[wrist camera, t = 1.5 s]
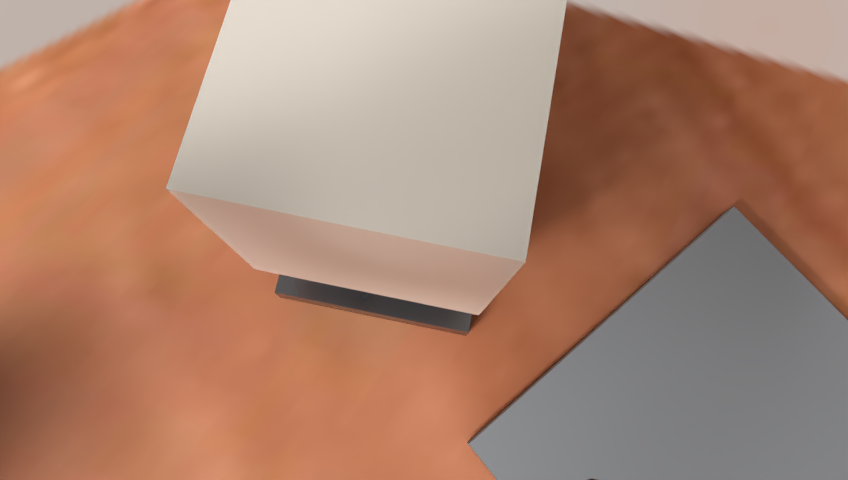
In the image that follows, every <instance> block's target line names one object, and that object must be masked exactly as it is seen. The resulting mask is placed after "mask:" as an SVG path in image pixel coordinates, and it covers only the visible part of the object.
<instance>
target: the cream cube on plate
mask: <svg viewBox="0 0 848 480" xmlns="http://www.w3.org/2000/svg"><path fill="white" fill-rule="evenodd" d="M566 3H567V0H231V1H230V4H229V7H228V10H227V13H226V16H225V19H224V21H223V24H222V27H221V30H220V33H219V36H218V39H217V42H216V45H215V48H214V50H213V53H212V56H211V59H210V62H209V65H208V68H207V71H206V74H205V77H204V79H203V82H202V85H201V88H200V91H199V94H198V97H197V100H196V103H195V106H194V108H193V111H192V114H191V117H190V120H189V123H188V126H187V129H186V132H185V135H184V137H183V140H182V143H181V146H180V149H179V152H178V155H177V158H176V161H175V164H174V166H173V169H172V172H171V175H170V178H169V181H168V184H167V187H166V189H167V190H168V191H169V192H170V193H171V194H172V195H173V196H174V197H175V198H177V199H178V200H179V201H180V202H181V203H182V204H183V205H184V206H185V207H186V208H188V209H189V210H190V211H191V212H192V213H193V214H194V215H195V216H196V217H198V218H199V219H200V220H201V221H202V222H203V223H204V224H205V225H206V226H208V227H209V228H210V229H211V230H212V231H213V232H214V233H215V234H216V235H217V236H219V237H220V238H221V239H222V240H223V241H224V242H225V243H226V244H227V245H229V246H230V247H231V248H232V249H233V250H234V251H235V252H236V253H237V254H239V255H240V256H241V257H242V258H243V259H244V260H245V261H246V262H247V263H248V264H250V265H251V266H252V267H253V268H254V269H256V270H261V271H266V272H271V273H275V274H280V275H285V276H290V277H295V278H300V279H305V280H309V281H314V282H319V283H324V284H329V285H334V286H339V287H343V288H348V289H353V290H358V291H363V292H368V293H373V294H377V295H382V296H387V297H392V298H397V299H402V300H406V301H411V302H416V303H421V304H426V305H431V306H436V307H440V308H445V309H450V310H455V311H460V312H465V313H470V314H474V315H480V313H481V312H482V311H483V310H484V309H485V308H486V307H487V305H488V304H489V303H490V302H491V301H492V300H493V299H494V298H495V296H496V295H497V294H498V293H499V292H500V291H501V290H502V288H503V287H504V286H505V285H506V284H507V283H508V282H509V281H510V279H511V278H512V277H513V276H514V275H515V274H516V273H517V271H518V270H519V269H520V268H521V267H522V266H523V265H524V264H525V262H526V257H527V251H528V244H529V238H530V232H531V225H532V219H533V213H534V206H535V200H536V194H537V187H538V181H539V175H540V168H541V162H542V156H543V149H544V143H545V137H546V130H547V124H548V118H549V111H550V105H551V98H552V92H553V86H554V79H555V73H556V67H557V60H558V54H559V48H560V41H561V35H562V29H563V22H564V16H565V10H566Z"/></svg>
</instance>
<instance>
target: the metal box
mask: <svg viewBox="0 0 848 480" xmlns="http://www.w3.org/2000/svg"><path fill="white" fill-rule="evenodd" d="M275 293H276V294H277V295H278V296H279V297H282V298H286V299H291V300H296V301H301V302H306V303H311V304H315V305H320V306H325V307H330V308H335V309H340V310H345V311H349V312H354V313H359V314H364V315H369V316H374V317H378V318H383V319H388V320H393V321H398V322H403V323H407V324H412V325H417V326H422V327H427V328H432V329H436V330H441V331H446V332H451V333H456V334H461V335H465V336H466V335H467V334H468V333H469V328H470V323H471V317H472V314H470V313H465V312H460V311H455V310H450V309H445V308H440V307H436V306H431V305H426V304H421V303H416V302H411V301H406V300H402V299H397V298H392V297H387V296H382V295H377V294H373V293H368V292H363V291H358V290H353V289H348V288H343V287H339V286H334V285H329V284H324V283H319V282H314V281H309V280H305V279H300V278H295V277H290V276H285V275H279V279H278V283H277V286H276V290H275Z"/></svg>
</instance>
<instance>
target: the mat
mask: <svg viewBox="0 0 848 480" xmlns="http://www.w3.org/2000/svg"><path fill="white" fill-rule="evenodd" d="M467 443H468V444H469V446H470V447H471V448H472V449H473V451H474V452H475V453H476V454H477V456H478V457H479V458H480V459H481V461H482V462H483V463H484V464H485V466H486V467H487V468H488V469H489V471H490V472H491V473H492V474H493V476H494V477H495V478H496V479H497V480H588V479H592V478H593V479H597V480H848V320H847V319H846V318H845V317H844V316H843V315H842V314H841V313H840V312H839V311H838V310H837V309H836V308H835V307H834V306H833V305H832V304H831V303H830V302H829V301H828V300H827V299H826V298H825V297H824V296H823V295H822V294H821V293H820V292H819V291H818V290H817V289H816V288H815V287H814V286H813V285H812V284H811V283H810V282H809V281H808V280H807V279H806V278H805V277H804V276H803V275H802V274H801V273H800V272H799V271H798V270H797V269H796V268H795V267H794V266H793V265H792V264H791V263H790V262H789V261H788V260H787V259H786V258H785V257H784V256H783V255H782V254H781V253H780V252H779V251H778V250H777V249H776V248H775V247H774V246H773V245H772V244H771V243H770V242H769V241H768V240H767V239H766V238H765V237H764V236H763V235H762V234H761V233H760V232H759V231H758V230H757V229H756V228H755V227H754V226H753V225H752V224H751V223H750V222H749V221H748V220H747V219H746V218H745V217H744V216H743V215H742V214H741V213H740V212H739V211H738V210H737V209H736V208H735V207H732V208H730V209H729V210H727V211H726V212H724V213H723V214H722V215H721V216H720V217H719V218H718V219H717V220H716V221H714V222H713V223H712V224H711V225H710V226H709V227H708V228H707V229H705V230H704V231H703V232H702V233H701V234H700V235H699V236H698V237H697V238H695V239H694V240H693V241H692V242H691V243H690V244H689V245H688V246H686V247H685V248H684V249H683V250H682V251H681V252H680V253H679V254H677V255H676V256H675V257H674V258H673V259H672V260H671V261H670V262H669V263H667V264H666V265H665V266H664V267H663V268H662V269H661V270H660V271H658V272H657V273H656V274H655V275H654V276H653V277H652V278H651V279H650V280H648V281H647V282H646V283H645V284H644V285H643V286H642V287H641V288H639V289H638V290H637V291H636V292H635V293H634V294H633V295H632V296H631V297H629V298H628V299H627V300H626V301H625V302H624V303H623V304H622V305H620V306H619V307H618V308H617V309H616V310H615V311H614V312H613V313H612V314H610V315H609V316H608V317H607V318H606V319H605V320H604V321H603V322H601V323H600V324H599V325H598V326H597V327H596V328H595V329H594V330H593V331H591V332H590V333H589V334H588V335H587V336H586V337H585V338H584V339H582V340H581V341H580V342H579V343H578V344H577V345H576V346H575V347H574V348H572V349H571V350H570V351H569V352H568V353H567V354H566V355H565V356H563V357H562V358H561V359H560V360H559V361H558V362H557V363H556V364H555V365H553V366H552V367H551V368H550V369H549V370H548V371H547V372H546V373H544V374H543V375H542V376H541V377H540V378H539V379H538V380H537V381H536V382H534V383H533V384H532V385H531V386H530V387H529V388H528V389H527V390H525V391H524V392H523V393H522V394H521V395H520V396H519V397H518V398H517V399H515V400H514V401H513V402H512V403H511V404H510V405H509V406H508V407H506V408H505V409H504V410H503V411H502V412H501V413H500V414H499V415H498V416H496V417H495V418H494V419H493V420H492V421H491V422H490V423H489V424H487V425H486V426H485V427H484V428H483V429H482V430H481V431H480V432H479V433H477V434H476V435H475V436H474V437H473V438H472V439H471V440H470V441H468V442H467Z"/></svg>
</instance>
